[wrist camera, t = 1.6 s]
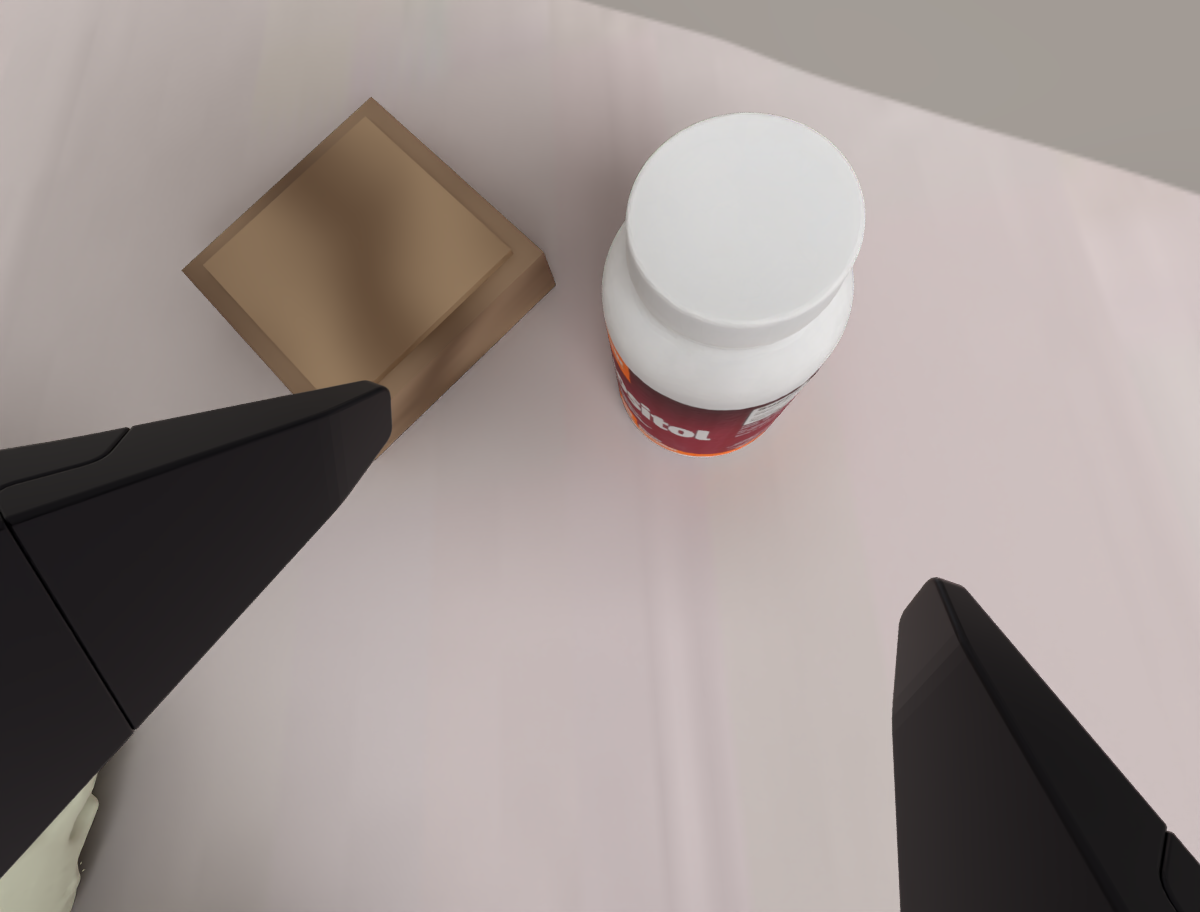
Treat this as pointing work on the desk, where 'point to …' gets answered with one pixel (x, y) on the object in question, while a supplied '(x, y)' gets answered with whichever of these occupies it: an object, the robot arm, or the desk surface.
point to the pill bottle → (730, 278)
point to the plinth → (372, 269)
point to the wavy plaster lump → (51, 861)
